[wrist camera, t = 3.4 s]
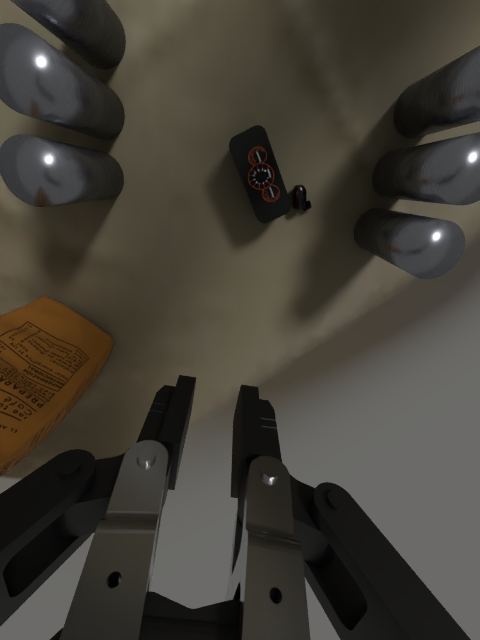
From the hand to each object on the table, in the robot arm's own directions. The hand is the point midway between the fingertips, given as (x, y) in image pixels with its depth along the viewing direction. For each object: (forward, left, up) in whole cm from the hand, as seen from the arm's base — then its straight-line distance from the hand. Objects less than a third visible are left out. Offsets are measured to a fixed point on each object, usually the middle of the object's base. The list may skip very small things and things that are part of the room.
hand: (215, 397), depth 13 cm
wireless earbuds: (-9, +2, -18) cm, 20 cm away
